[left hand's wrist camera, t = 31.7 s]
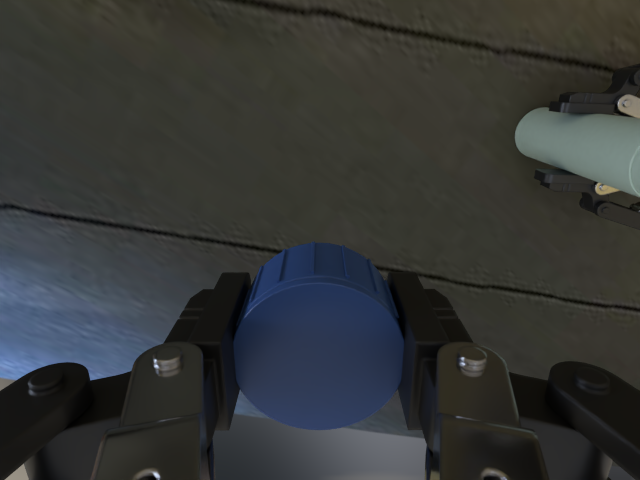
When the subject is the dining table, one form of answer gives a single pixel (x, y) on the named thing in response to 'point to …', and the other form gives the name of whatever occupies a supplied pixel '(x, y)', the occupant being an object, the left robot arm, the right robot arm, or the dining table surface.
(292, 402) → the cap
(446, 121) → the dining table surface
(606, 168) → the bottle
